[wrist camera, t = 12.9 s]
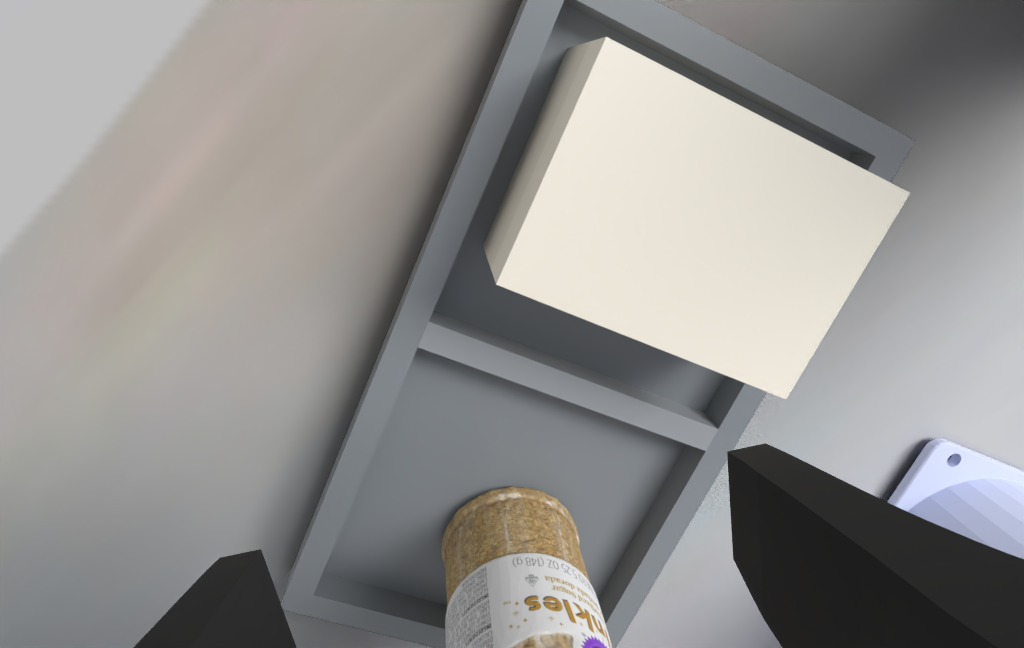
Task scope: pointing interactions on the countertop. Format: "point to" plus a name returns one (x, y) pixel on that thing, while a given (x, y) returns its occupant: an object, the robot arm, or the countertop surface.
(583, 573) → the sprinkles bottle
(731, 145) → the plain cream box
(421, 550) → the tray
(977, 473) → the robot arm
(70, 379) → the countertop surface
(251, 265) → the countertop surface
